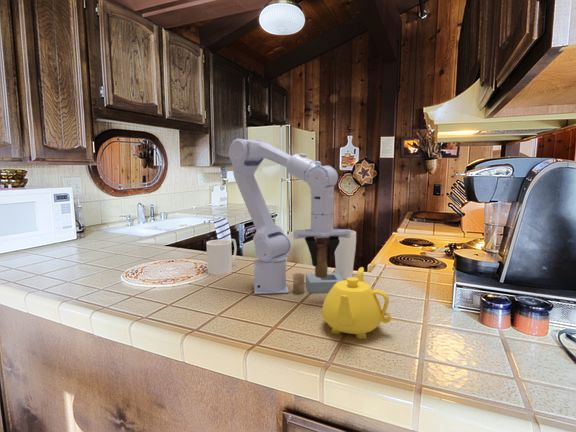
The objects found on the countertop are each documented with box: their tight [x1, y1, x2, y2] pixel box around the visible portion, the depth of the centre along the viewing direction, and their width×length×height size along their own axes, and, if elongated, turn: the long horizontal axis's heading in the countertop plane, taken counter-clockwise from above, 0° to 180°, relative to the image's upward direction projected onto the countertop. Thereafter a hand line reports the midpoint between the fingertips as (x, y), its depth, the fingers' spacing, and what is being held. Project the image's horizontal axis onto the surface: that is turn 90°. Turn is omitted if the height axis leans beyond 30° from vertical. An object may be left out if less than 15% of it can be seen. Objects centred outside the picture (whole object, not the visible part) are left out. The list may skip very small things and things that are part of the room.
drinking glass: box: [334, 229, 357, 280], centre depth 108 cm, size 7×7×15 cm
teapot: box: [321, 266, 392, 340], centre depth 74 cm, size 20×15×12 cm
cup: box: [206, 238, 238, 276], centre depth 117 cm, size 8×12×10 cm
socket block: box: [305, 272, 343, 294], centre depth 100 cm, size 10×8×3 cm
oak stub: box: [292, 272, 305, 295], centre depth 97 cm, size 3×3×5 cm
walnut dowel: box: [314, 244, 329, 278], centre depth 89 cm, size 3×3×8 cm
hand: (321, 265), depth 89 cm, fingers closed on walnut dowel, 3 cm apart
